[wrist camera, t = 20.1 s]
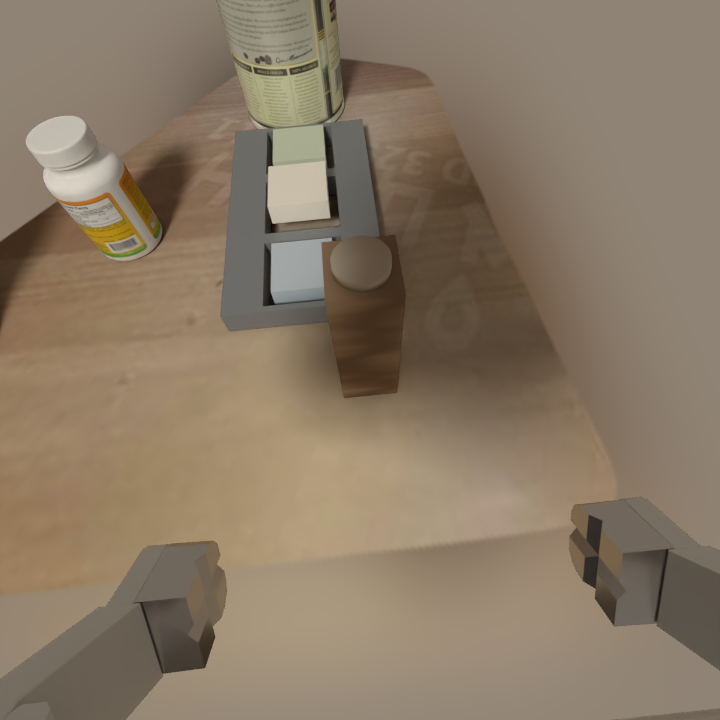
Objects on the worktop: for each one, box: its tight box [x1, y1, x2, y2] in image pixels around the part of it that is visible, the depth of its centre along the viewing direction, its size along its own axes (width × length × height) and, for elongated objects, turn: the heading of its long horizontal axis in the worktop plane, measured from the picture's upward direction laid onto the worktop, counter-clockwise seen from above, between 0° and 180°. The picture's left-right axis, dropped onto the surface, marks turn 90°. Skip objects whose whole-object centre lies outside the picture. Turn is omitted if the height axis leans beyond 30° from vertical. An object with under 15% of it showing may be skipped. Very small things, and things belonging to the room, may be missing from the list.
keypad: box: [220, 119, 380, 331], centre depth 35 cm, size 12×21×2 cm, turn 5°
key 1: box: [271, 238, 332, 305], centre depth 31 cm, size 5×5×2 cm
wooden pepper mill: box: [321, 235, 405, 398], centre depth 24 cm, size 4×4×12 cm
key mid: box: [267, 161, 330, 224], centre depth 33 cm, size 5×5×2 cm
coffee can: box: [216, 0, 344, 129], centre depth 38 cm, size 10×10×14 cm
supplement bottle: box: [26, 116, 162, 261], centre depth 32 cm, size 5×5×10 cm
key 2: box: [273, 125, 327, 169], centre depth 38 cm, size 5×5×2 cm
